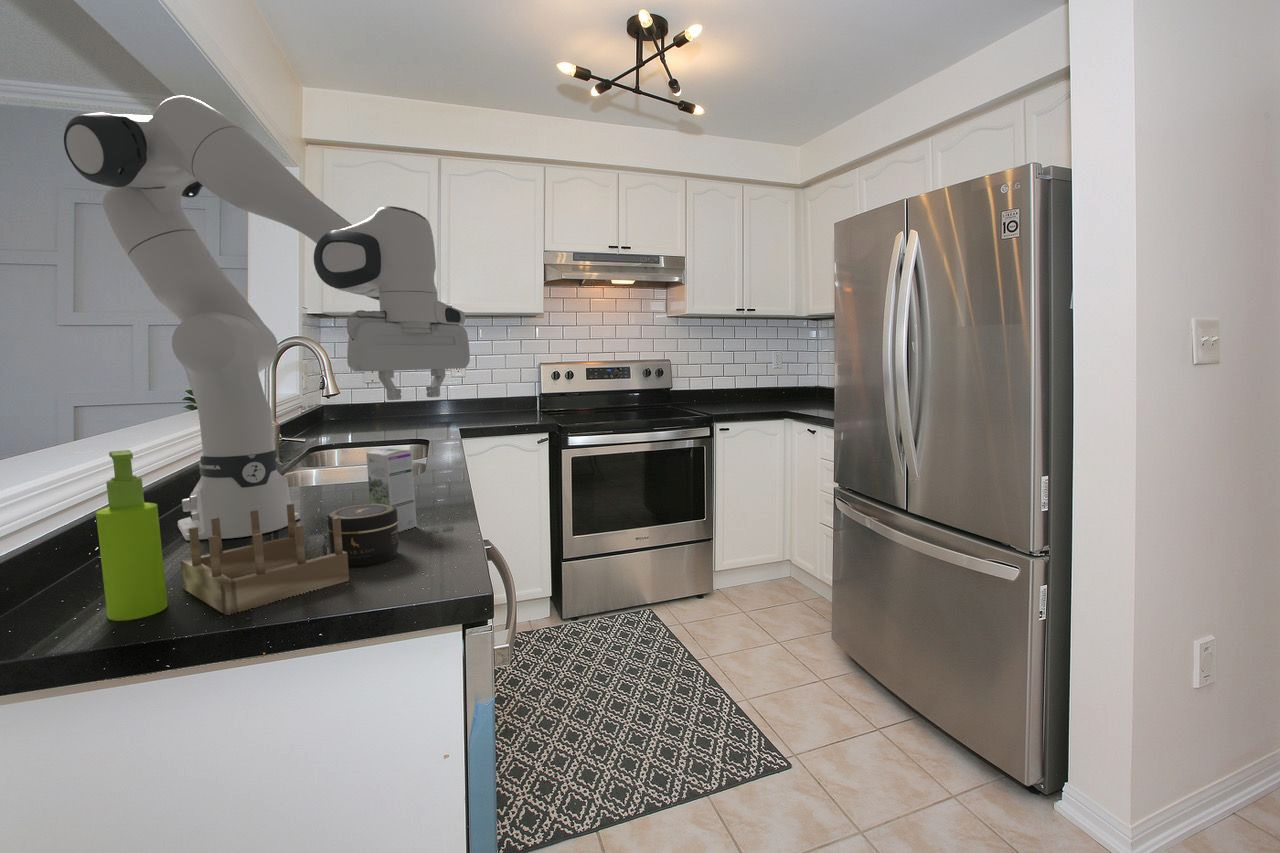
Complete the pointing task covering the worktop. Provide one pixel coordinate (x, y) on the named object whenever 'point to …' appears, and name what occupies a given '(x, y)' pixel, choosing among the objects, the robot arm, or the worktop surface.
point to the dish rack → (260, 567)
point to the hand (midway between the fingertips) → (414, 398)
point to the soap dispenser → (130, 546)
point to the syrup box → (393, 483)
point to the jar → (366, 533)
